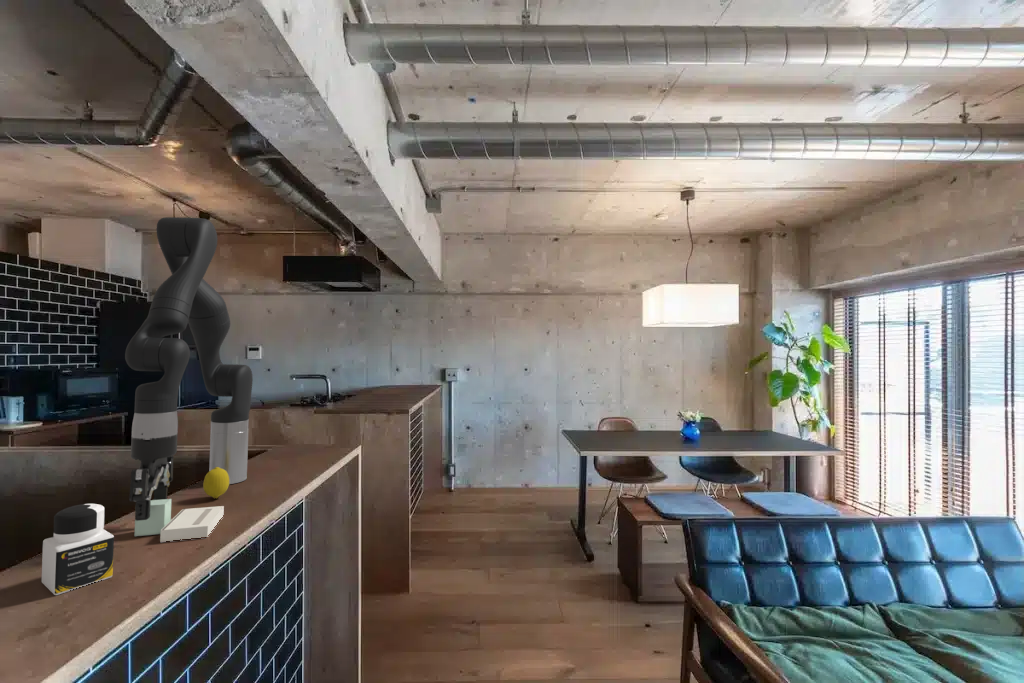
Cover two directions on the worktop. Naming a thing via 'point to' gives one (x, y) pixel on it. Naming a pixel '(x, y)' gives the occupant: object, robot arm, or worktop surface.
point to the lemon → (216, 482)
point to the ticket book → (192, 523)
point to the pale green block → (154, 518)
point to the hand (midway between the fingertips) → (151, 512)
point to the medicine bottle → (77, 549)
